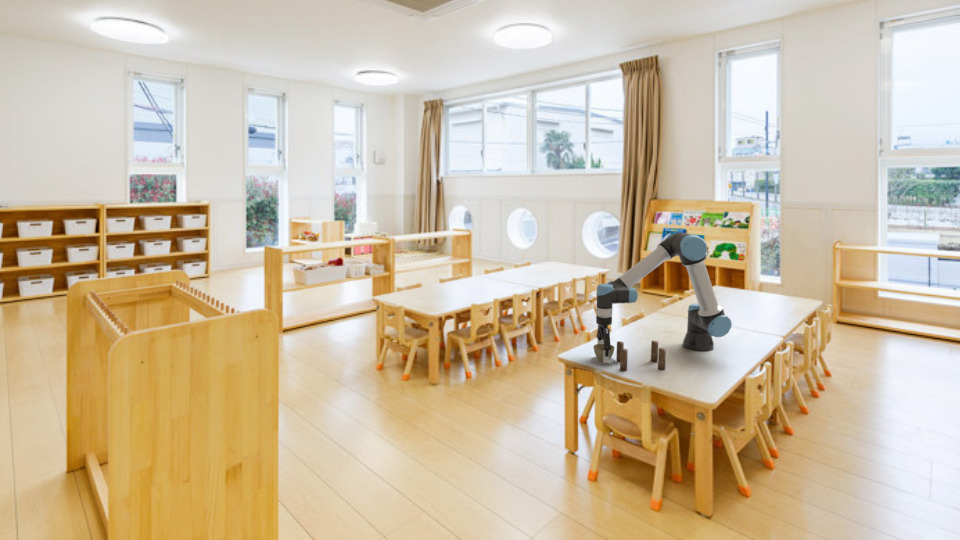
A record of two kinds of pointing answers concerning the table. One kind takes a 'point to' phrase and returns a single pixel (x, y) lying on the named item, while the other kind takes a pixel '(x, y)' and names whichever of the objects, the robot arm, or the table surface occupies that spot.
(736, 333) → the table surface
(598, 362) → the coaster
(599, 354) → the olive grey bowl
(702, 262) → the robot arm
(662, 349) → the posts
